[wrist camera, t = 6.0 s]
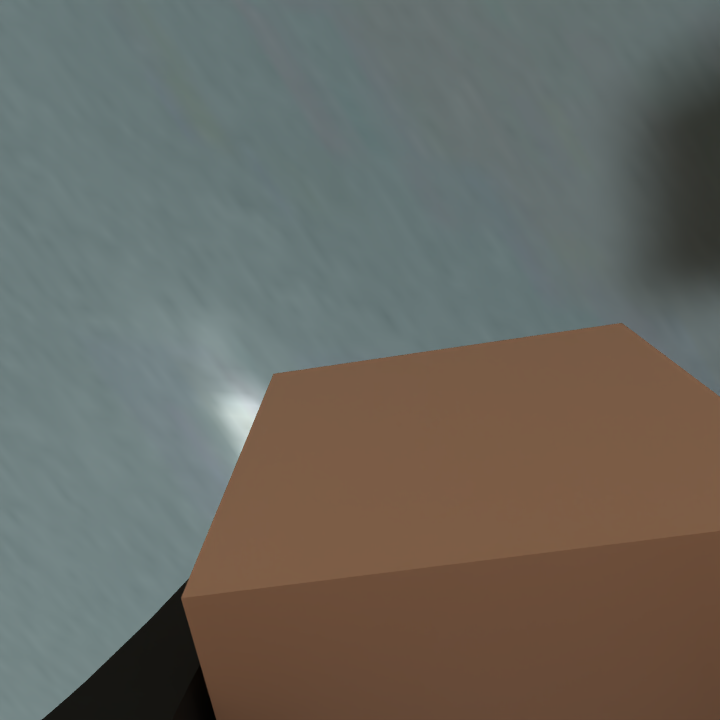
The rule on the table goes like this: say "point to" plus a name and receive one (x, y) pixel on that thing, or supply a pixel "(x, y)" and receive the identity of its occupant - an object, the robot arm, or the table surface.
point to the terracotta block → (470, 540)
